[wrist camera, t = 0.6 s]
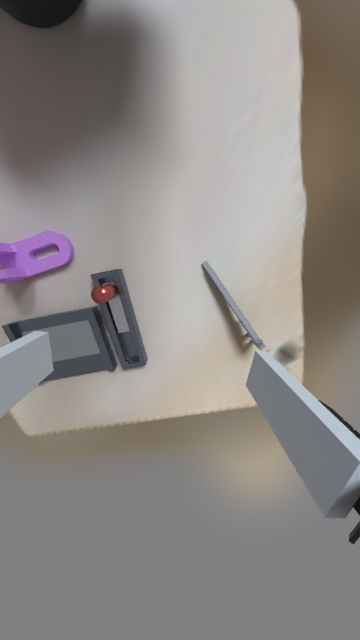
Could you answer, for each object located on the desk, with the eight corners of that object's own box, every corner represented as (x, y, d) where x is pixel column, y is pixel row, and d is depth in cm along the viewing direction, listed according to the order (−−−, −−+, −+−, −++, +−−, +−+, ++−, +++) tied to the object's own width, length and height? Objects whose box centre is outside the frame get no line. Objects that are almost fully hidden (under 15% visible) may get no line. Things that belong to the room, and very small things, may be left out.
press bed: (12, 322, 35) (1, 326, 33) (96, 305, 34) (91, 308, 32) (42, 378, 39) (34, 385, 37) (117, 364, 39) (114, 370, 37)
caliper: (255, 338, 38) (270, 351, 32) (250, 340, 38) (265, 354, 32) (205, 260, 33) (212, 259, 27) (201, 264, 33) (207, 263, 27)
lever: (103, 283, 32) (88, 287, 26) (117, 280, 32) (105, 284, 26) (119, 331, 35) (108, 344, 30) (132, 329, 35) (124, 341, 30)
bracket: (18, 281, 33) (-22, 285, 26) (0, 251, 31) (-48, 247, 24) (79, 260, 32) (55, 258, 25) (65, 228, 30) (34, 218, 23)
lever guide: (96, 273, 32) (90, 274, 30) (121, 268, 32) (117, 269, 30) (126, 362, 39) (123, 369, 36) (147, 359, 38) (145, 364, 36)
